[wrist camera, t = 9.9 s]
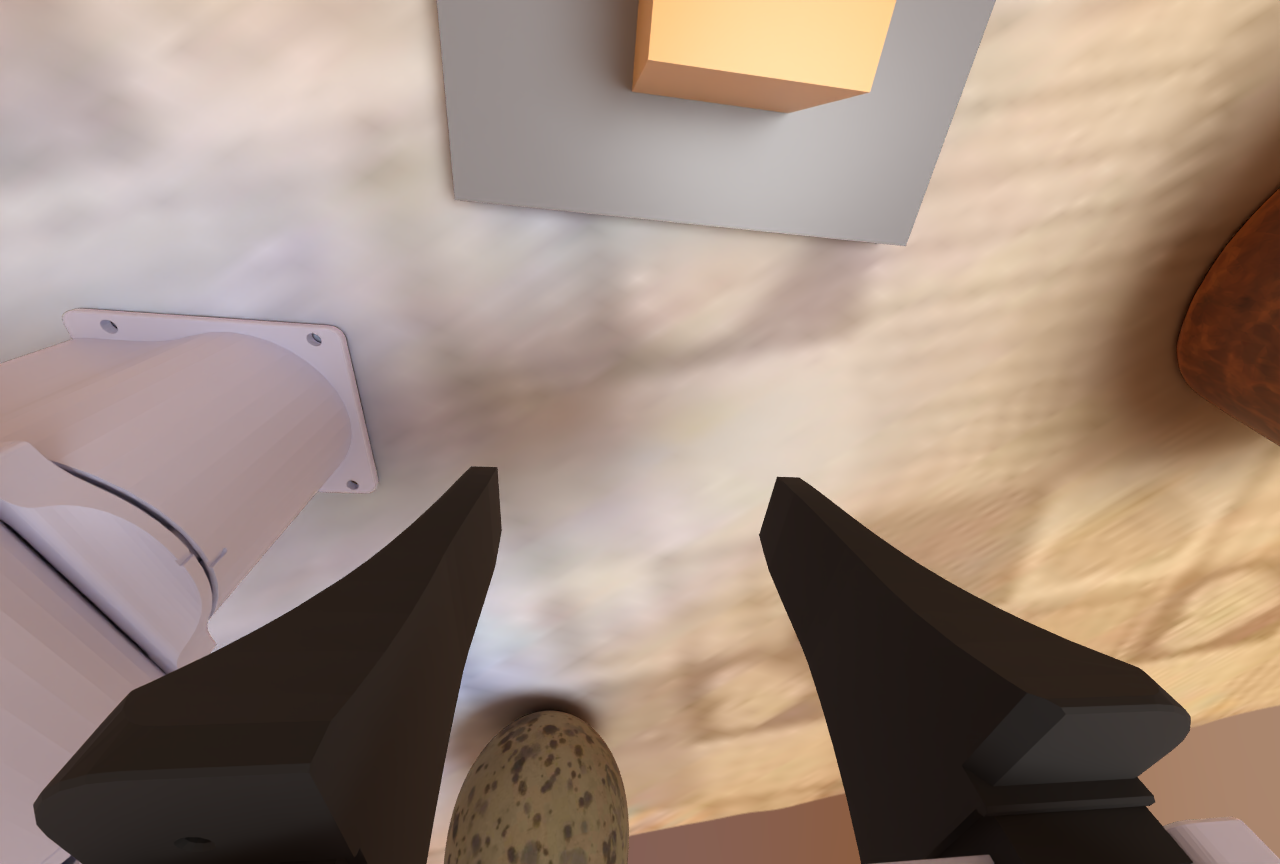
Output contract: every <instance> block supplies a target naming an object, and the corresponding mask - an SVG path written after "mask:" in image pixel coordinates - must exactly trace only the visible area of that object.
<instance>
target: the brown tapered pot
mask: <svg viewBox="0 0 1280 864" xmlns="http://www.w3.org/2000/svg"><path fill="white" fill-rule="evenodd" d="M1177 357H1178V365H1179V369H1180V371H1181V373H1182V375H1183V377H1184V379H1185V381H1186V383H1187V384H1188V385H1189V386H1190V387H1191V389H1193V390H1194V391H1195V392H1196V393H1198V394H1199V395H1200V396H1202V397H1203V398H1204V399H1206V400H1207V401H1209V402H1210V403H1212V404H1213V405H1215V406H1216V407H1218V408H1219V409H1221V410H1222V411H1224V412H1226V413H1227V414H1229V415H1230V416H1232V417H1234V418H1235V419H1237V420H1239V421H1240V422H1242V423H1243V424H1245V425H1247V426H1248V427H1250V428H1251V429H1253V430H1255V431H1256V432H1258V433H1259V434H1261V435H1263V436H1264V437H1266V438H1267V439H1269V440H1271V441H1272V442H1274V443H1276V444H1277V445H1279V446H1280V189H1278V190H1277V191H1276V192H1275V193H1274V194H1273V195H1272V196H1271V197H1270V198H1269V199H1268V200H1267V201H1266V202H1265V203H1264V204H1263V205H1262V206H1261V207H1260V208H1259V209H1258V210H1257V211H1256V212H1255V213H1254V214H1253V215H1252V216H1251V218H1250V219H1249V220H1248V221H1247V222H1246V223H1245V224H1244V225H1243V227H1242V228H1241V229H1240V230H1239V231H1238V232H1237V234H1236V235H1235V236H1234V237H1233V238H1232V240H1231V241H1230V242H1229V243H1228V244H1227V246H1226V247H1225V248H1224V250H1223V251H1222V253H1221V254H1220V255H1219V257H1218V258H1217V260H1216V261H1215V263H1214V264H1213V265H1212V267H1211V268H1210V270H1209V272H1208V273H1207V275H1206V277H1205V279H1204V281H1203V282H1202V284H1201V285H1200V287H1199V288H1198V290H1197V292H1196V294H1195V296H1194V298H1193V300H1192V302H1191V304H1190V307H1189V309H1188V312H1187V314H1186V317H1185V319H1184V322H1183V325H1182V328H1181V331H1180V335H1179V338H1178V343H1177Z"/></svg>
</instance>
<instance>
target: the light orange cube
mask: <svg viewBox="0 0 1280 864" xmlns="http://www.w3.org/2000/svg"><path fill="white" fill-rule="evenodd" d="M895 3H896V0H639V3H638V16H637V29H636V43H635V56H634V70H633V83H632V92H638V93H645V94H652V95H659V96H667V97H674V98H681V99H689V100H696V101H703V102H710V103H718V104H725V105H732V106H740V107H747V108H754V109H761V110H769V111H776V112H783V113H792V112H795V111H799V110H803V109H807V108H811V107H815V106H819V105H823V104H827V103H830V102H834V101H838V100H842V99H846V98H850V97H854V96H858V95H862V94H866V93H869V92H870V91H871V87H872V84H873V80H874V77H875V73H876V70H877V66H878V63H879V59H880V56H881V52H882V49H883V45H884V42H885V38H886V35H887V31H888V28H889V24H890V21H891V17H892V14H893V10H894V7H895Z"/></svg>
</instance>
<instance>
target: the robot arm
mask: <svg viewBox="0 0 1280 864" xmlns="http://www.w3.org/2000/svg"><path fill="white" fill-rule="evenodd" d="M62 320H63V323H64V325H65V327H66V329H67V331H68V332H69V334H70V336H71V338H72V340H69V341H66V342H63V343H60V344H57V345H54V346H51V347H48V348H45V349H42V350H39V351H36V352H33V353H30V354H27V355H24V356H21V357H18V358H15V359H12V360H9V361H6V362H3V363H0V864H426V863H427V857H428V851H429V845H430V840H431V834H432V828H433V822H434V817H435V811H436V806H437V800H438V795H439V789H440V784H441V779H442V773H443V768H444V762H445V757H446V752H447V747H448V742H449V737H450V732H451V727H452V722H453V717H454V712H455V708H456V703H457V698H458V693H459V689H460V684H461V679H462V674H463V670H464V666H465V663H466V659H467V655H468V652H469V648H470V645H471V642H472V639H473V636H474V633H475V629H476V626H477V623H478V620H479V617H480V614H481V610H482V607H483V604H484V601H485V598H486V595H487V591H488V588H489V585H490V582H491V578H492V575H493V572H494V569H495V564H496V559H497V554H498V548H499V542H500V537H501V531H502V529H501V514H500V499H499V484H498V469H497V467H471V468H469V469H468V470H467V471H466V472H465V473H464V474H463V475H462V476H461V477H460V478H459V479H458V480H457V481H456V482H455V483H454V484H453V485H452V486H451V487H450V488H449V489H448V490H447V491H446V492H445V493H444V494H443V495H442V496H441V497H440V498H439V499H438V500H437V501H436V502H435V503H434V504H433V505H432V506H431V507H430V508H429V509H428V510H427V511H426V512H425V513H423V514H422V515H421V516H420V517H419V518H418V519H417V520H416V521H415V522H414V523H413V524H411V525H410V526H409V527H408V528H407V529H406V530H404V531H403V532H402V533H401V534H400V535H399V536H397V537H396V538H395V539H394V540H393V541H391V542H390V543H389V544H388V545H387V546H386V547H384V548H383V549H382V550H380V551H379V552H378V553H377V554H375V555H374V556H373V557H371V558H370V559H369V560H368V561H366V562H365V563H363V564H362V565H361V566H359V567H358V568H356V569H355V570H354V571H352V572H351V573H349V574H348V575H346V576H345V577H344V578H342V579H341V580H339V581H338V582H336V583H334V584H333V585H331V586H330V587H328V588H326V589H325V590H323V591H322V592H320V593H318V594H317V595H315V596H314V597H312V598H310V599H309V600H307V601H306V602H304V603H302V604H301V605H299V606H298V607H296V608H294V609H293V610H291V611H289V612H288V613H286V614H284V615H282V616H280V617H279V618H277V619H275V620H273V621H272V622H270V623H268V624H266V625H264V626H263V627H261V628H259V629H257V630H255V631H253V632H251V633H250V634H248V635H246V636H244V637H242V638H240V639H238V640H236V641H235V642H233V643H231V644H229V645H227V646H225V647H223V648H221V649H219V650H217V651H215V652H213V653H211V651H212V650H213V649H214V648H215V646H216V643H215V641H214V640H213V639H212V637H211V636H210V634H209V632H208V628H207V623H208V620H209V619H210V618H211V617H212V615H213V614H214V613H215V612H216V611H217V610H218V608H219V607H220V606H221V605H222V604H223V602H224V601H225V600H226V599H227V598H228V597H229V595H230V594H231V593H232V592H233V591H234V589H235V588H236V587H237V586H238V585H239V584H240V582H241V581H242V580H243V579H244V578H245V576H246V575H247V574H248V573H249V572H250V571H251V569H252V568H253V567H254V566H255V565H256V563H257V562H258V561H259V560H260V559H261V558H262V556H263V555H264V554H265V553H266V552H267V550H268V549H269V548H270V547H271V546H272V545H273V543H274V542H275V541H276V540H277V539H278V537H279V536H280V535H281V534H282V533H283V532H284V530H285V529H286V528H287V527H288V526H289V524H290V523H291V522H292V521H293V520H294V519H295V517H296V516H297V515H298V514H299V513H300V511H301V510H302V509H303V508H304V507H305V506H306V504H307V503H308V502H309V501H310V500H311V498H312V497H313V496H314V495H315V494H316V493H317V492H335V493H371V492H373V491H374V490H375V489H376V487H377V486H378V482H379V481H378V477H377V472H376V468H375V464H374V459H373V455H372V451H371V446H370V442H369V437H368V433H367V429H366V424H365V420H364V416H363V411H362V407H361V402H360V398H359V394H358V389H357V385H356V381H355V376H354V372H353V367H352V363H351V359H350V354H349V350H348V346H347V341H346V338H345V335H344V334H343V333H342V331H341V330H340V329H338V328H336V327H334V326H330V325H316V324H301V323H286V322H272V321H257V320H242V319H228V318H213V317H198V316H184V315H169V314H154V313H140V312H125V311H110V310H95V309H81V308H80V309H73V310H70V311H67V312H65V313H64V314H63V317H62ZM110 321H111V322H113V323H114V324H115V325H116V326H117V328H118V329H116V328H115V327H113V325H112V324H111V322H110ZM312 333H314V334H317V335H318V336H319V337H320V338H321V340H322V342H321V343H319V342H317V341H315V340H314V339H313V337H312ZM351 480H352V481H355V482H357V483H358V485H357V484H354V483H352V482H351ZM759 536H760V540H761V544H762V548H763V552H764V555H765V559H766V562H767V566H768V569H769V572H770V574H771V577H772V579H773V581H774V584H775V586H776V588H777V591H778V593H779V596H780V598H781V600H782V603H783V605H784V607H785V609H786V612H787V614H788V616H789V619H790V621H791V623H792V626H793V628H794V630H795V633H796V635H797V637H798V639H799V642H800V644H801V646H802V649H803V652H804V654H805V657H806V659H807V662H808V665H809V668H810V671H811V674H812V677H813V680H814V683H815V686H816V690H817V693H818V696H819V699H820V702H821V706H822V709H823V712H824V716H825V719H826V723H827V726H828V730H829V733H830V737H831V740H832V744H833V747H834V751H835V755H836V759H837V763H838V767H839V770H840V774H841V778H842V782H843V786H844V790H845V794H846V797H847V801H848V806H849V811H850V815H851V819H852V824H853V828H854V832H855V837H856V842H857V846H858V850H859V855H860V860H861V864H1280V859H1279V858H1278V857H1277V856H1276V855H1275V854H1274V853H1273V852H1272V851H1271V850H1270V849H1269V848H1268V847H1267V846H1266V845H1265V844H1264V843H1263V842H1262V841H1261V840H1260V839H1259V838H1258V837H1257V836H1256V834H1255V833H1253V831H1251V830H1250V828H1249V827H1248V826H1247V825H1246V824H1244V822H1243V821H1242V820H1240V819H1237V818H1234V817H1221V818H1206V819H1193V820H1184V821H1177V822H1174V823H1171V824H1168V825H1165V826H1162V825H1161V824H1160V823H1159V821H1158V820H1157V819H1156V818H1155V817H1154V816H1153V814H1152V813H1151V812H1150V811H1149V810H1148V808H1147V807H1146V806H1150V805H1152V804H1153V803H1155V800H1154V796H1153V795H1152V793H1151V792H1150V791H1149V790H1148V789H1147V788H1146V787H1145V785H1144V784H1143V783H1142V782H1141V781H1140V780H1139V779H1138V776H1139V775H1140V774H1142V773H1143V772H1144V771H1146V770H1147V769H1148V768H1150V767H1151V766H1152V765H1153V764H1155V763H1156V762H1157V761H1159V760H1160V759H1161V758H1163V757H1164V756H1165V755H1166V754H1168V753H1169V752H1171V751H1172V750H1173V749H1174V748H1175V747H1176V746H1178V745H1179V744H1180V743H1181V742H1182V741H1183V740H1184V738H1185V737H1186V736H1187V734H1188V733H1189V731H1190V723H1191V718H1190V715H1189V714H1188V713H1187V711H1186V710H1185V709H1184V708H1183V707H1182V706H1181V705H1180V704H1179V703H1178V702H1177V701H1175V700H1174V699H1173V698H1172V697H1171V696H1170V695H1169V694H1168V693H1167V692H1166V691H1165V690H1164V689H1163V688H1161V687H1160V686H1159V685H1158V684H1157V683H1156V682H1155V681H1154V680H1153V679H1152V678H1151V677H1150V676H1149V675H1147V674H1146V673H1145V672H1144V671H1143V670H1141V669H1140V668H1138V667H1135V666H1133V665H1130V664H1128V663H1125V662H1123V661H1120V660H1118V659H1115V658H1113V657H1110V656H1107V655H1105V654H1102V653H1100V652H1097V651H1095V650H1092V649H1090V648H1087V647H1085V646H1082V645H1079V644H1077V643H1074V642H1072V641H1069V640H1067V639H1065V638H1062V637H1060V636H1058V635H1056V634H1053V633H1051V632H1049V631H1047V630H1044V629H1042V628H1040V627H1038V626H1035V625H1033V624H1031V623H1029V622H1026V621H1024V620H1022V619H1020V618H1018V617H1016V616H1014V615H1012V614H1010V613H1008V612H1005V611H1003V610H1001V609H999V608H997V607H995V606H993V605H992V604H990V603H988V602H986V601H984V600H982V599H980V598H978V597H976V596H974V595H972V594H970V593H968V592H967V591H965V590H963V589H961V588H959V587H957V586H956V585H954V584H952V583H950V582H949V581H947V580H945V579H943V578H942V577H940V576H938V575H937V574H935V573H933V572H932V571H930V570H928V569H927V568H925V567H923V566H922V565H920V564H919V563H917V562H915V561H914V560H912V559H911V558H909V557H908V556H906V555H905V554H903V553H902V552H900V551H899V550H897V549H896V548H894V547H893V546H891V545H890V544H888V543H887V542H886V541H884V540H883V539H881V538H880V537H878V536H877V535H876V534H874V533H873V532H872V531H870V530H869V529H867V528H866V527H865V526H863V525H862V524H861V523H859V522H858V521H857V520H855V519H854V518H853V517H851V516H850V515H849V514H847V513H846V512H845V511H844V510H842V509H841V508H840V507H838V506H837V505H836V504H834V503H833V502H832V501H831V500H829V499H828V498H827V497H825V496H824V495H823V494H821V493H820V492H819V491H817V490H816V489H815V488H813V487H812V486H811V485H809V484H808V483H806V482H805V481H803V480H802V479H800V478H795V477H777V479H776V482H775V485H774V489H773V492H772V495H771V498H770V502H769V505H768V508H767V511H766V515H765V518H764V521H763V524H762V528H761V531H760V534H759ZM210 653H211V654H210Z"/></svg>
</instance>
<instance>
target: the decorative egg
mask: <svg viewBox="0 0 1280 864" xmlns="http://www.w3.org/2000/svg"><path fill="white" fill-rule="evenodd" d="M628 846H629V822H628V809H627V801H626V795H625V790H624V785H623V781H622V778H621V775H620V771H619V769H618V766H617V764H616V761H615V759H614V757H613V755H612V753H611V751H610V750H609V748H608V746H607V745H606V743H605V742H604V741H603V739H602V738H601V737H600V735H599V734H598V733H597V732H596V731H595V730H594V729H593V728H592V727H591V726H590V725H588V724H587V723H586V722H584V721H583V720H581V719H580V718H578V717H576V716H574V715H571V714H568V713H565V712H561V711H540V712H535V713H532V714H529V715H526V716H524V717H522V718H520V719H518V720H516V721H514V722H513V723H511V724H510V725H508V726H507V727H506V728H504V729H503V730H502V731H501V732H500V733H499V734H497V735H496V736H495V737H494V738H493V739H492V740H491V742H490V743H489V744H488V745H487V746H486V747H485V748H484V750H483V751H482V752H481V754H480V755H479V757H478V758H477V760H476V761H475V763H474V764H473V766H472V768H471V769H470V771H469V773H468V775H467V777H466V779H465V781H464V783H463V785H462V788H461V790H460V792H459V795H458V798H457V801H456V804H455V807H454V810H453V814H452V818H451V822H450V826H449V830H448V836H447V842H446V849H445V857H444V864H627V861H628Z"/></svg>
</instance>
